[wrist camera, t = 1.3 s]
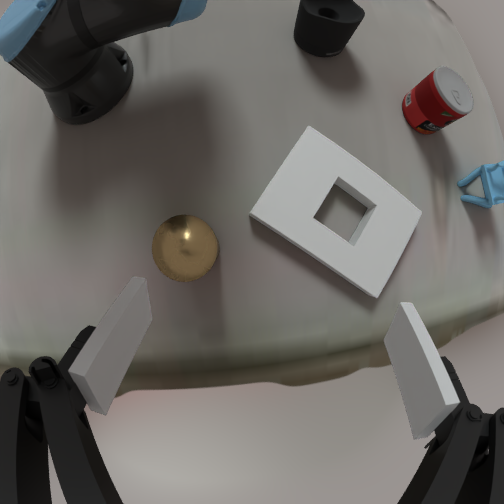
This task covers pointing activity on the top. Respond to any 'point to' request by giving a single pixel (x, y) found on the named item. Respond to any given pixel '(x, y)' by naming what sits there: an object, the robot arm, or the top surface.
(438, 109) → the canned food
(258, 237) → the top surface
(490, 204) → the chair
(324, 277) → the top surface
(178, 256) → the brass ball knob
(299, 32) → the pen holder
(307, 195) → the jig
